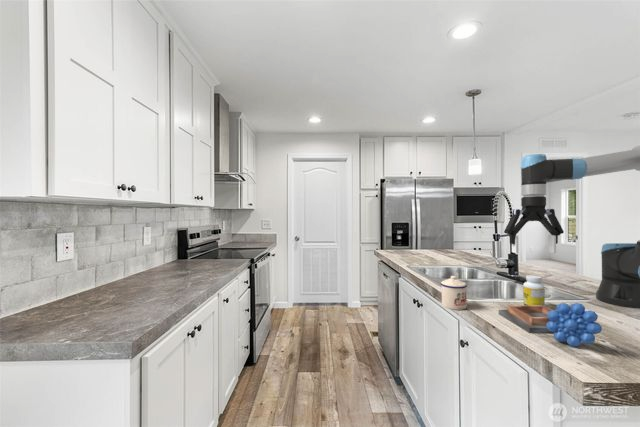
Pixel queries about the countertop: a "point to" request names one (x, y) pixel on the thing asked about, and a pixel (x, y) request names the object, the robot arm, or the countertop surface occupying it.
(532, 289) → the pill bottle
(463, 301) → the teacup with lid
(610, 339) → the countertop surface
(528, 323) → the socket board
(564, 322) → the blue bumpy cluster
